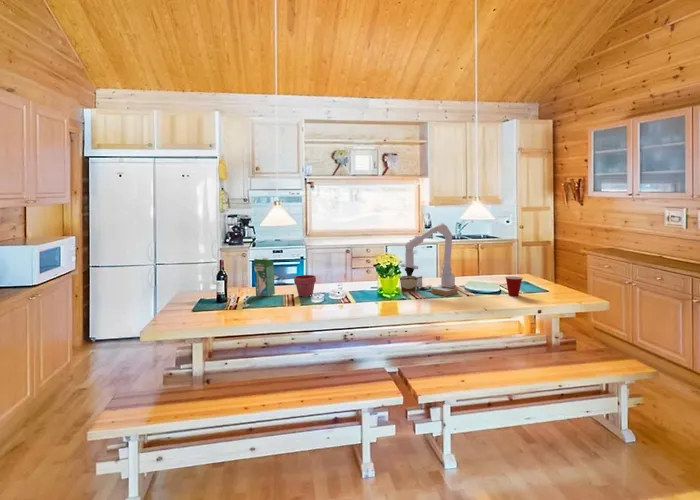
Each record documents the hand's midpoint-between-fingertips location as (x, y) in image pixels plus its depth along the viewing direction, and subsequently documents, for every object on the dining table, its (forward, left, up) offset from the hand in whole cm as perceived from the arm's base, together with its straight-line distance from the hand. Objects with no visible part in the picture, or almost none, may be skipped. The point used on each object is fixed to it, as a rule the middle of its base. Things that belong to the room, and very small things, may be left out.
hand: (409, 278), depth 338 cm
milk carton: (+87, -50, -6) cm, 100 cm away
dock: (0, +27, -6) cm, 28 cm away
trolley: (0, +13, -6) cm, 14 cm away
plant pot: (+69, -29, -6) cm, 75 cm away
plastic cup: (-25, +66, -6) cm, 71 cm away
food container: (+12, +10, -6) cm, 17 cm away
